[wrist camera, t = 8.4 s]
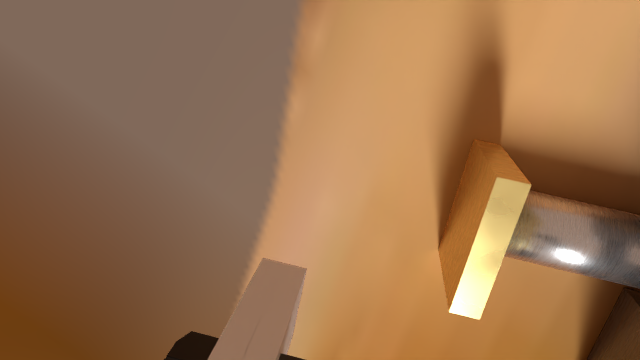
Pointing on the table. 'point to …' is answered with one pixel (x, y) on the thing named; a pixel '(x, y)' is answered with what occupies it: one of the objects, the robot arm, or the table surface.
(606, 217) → the lynch pin
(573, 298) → the table surface
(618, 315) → the hitch beam
